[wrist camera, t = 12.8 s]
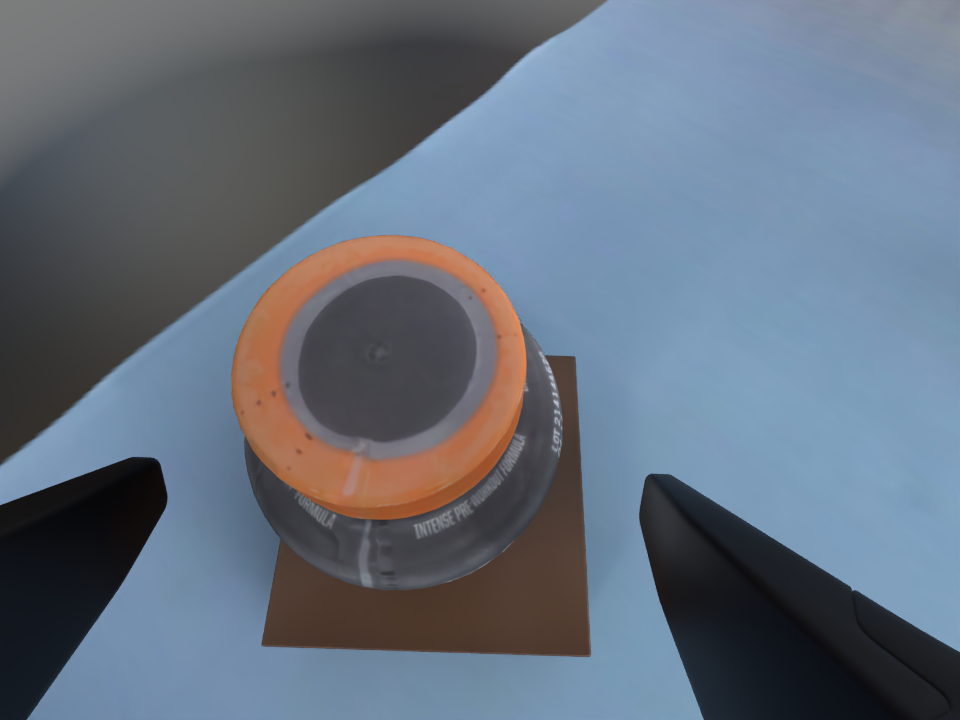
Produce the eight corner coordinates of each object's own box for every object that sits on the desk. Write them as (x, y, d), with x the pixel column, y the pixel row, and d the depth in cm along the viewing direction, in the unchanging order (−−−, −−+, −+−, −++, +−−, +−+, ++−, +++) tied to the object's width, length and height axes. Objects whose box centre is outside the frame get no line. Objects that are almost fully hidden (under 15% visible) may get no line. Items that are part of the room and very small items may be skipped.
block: (568, 641, 19) (591, 657, 15) (301, 633, 19) (260, 646, 15) (558, 391, 23) (575, 355, 19) (340, 384, 23) (315, 346, 19)
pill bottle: (333, 431, 18) (135, 221, 7) (491, 385, 18) (518, 137, 8) (368, 610, 15) (154, 678, 5) (547, 549, 16) (685, 498, 6)
